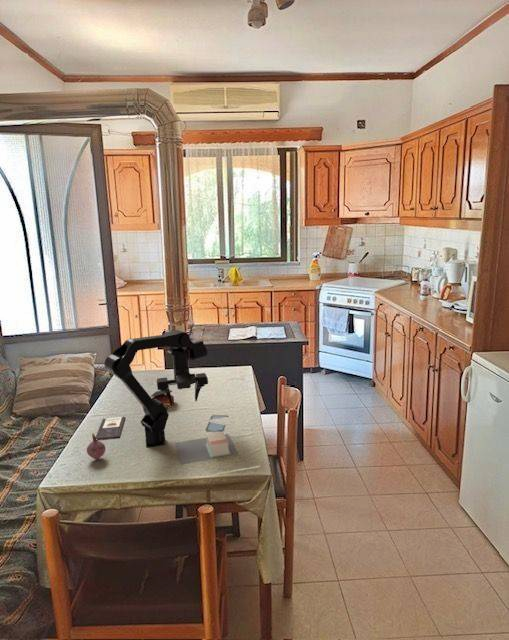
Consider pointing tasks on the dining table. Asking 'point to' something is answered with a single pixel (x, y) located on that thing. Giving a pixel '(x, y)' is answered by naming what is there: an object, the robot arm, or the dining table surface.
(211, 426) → the smartphone
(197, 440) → the mat
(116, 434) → the chocolate bar
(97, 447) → the vegetable
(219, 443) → the card box
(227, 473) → the dining table surface
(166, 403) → the canned food
